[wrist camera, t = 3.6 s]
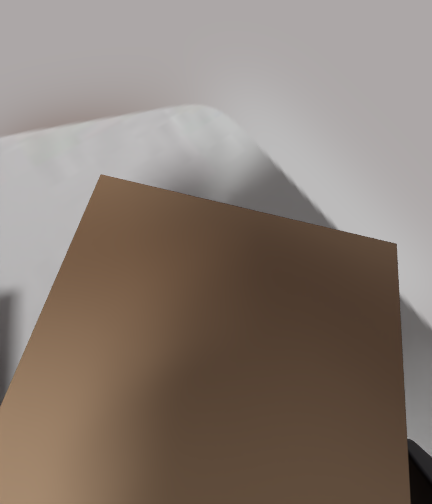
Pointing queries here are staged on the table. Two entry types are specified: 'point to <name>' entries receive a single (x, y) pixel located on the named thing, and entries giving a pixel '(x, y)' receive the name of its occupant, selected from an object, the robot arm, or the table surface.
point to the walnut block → (209, 362)
